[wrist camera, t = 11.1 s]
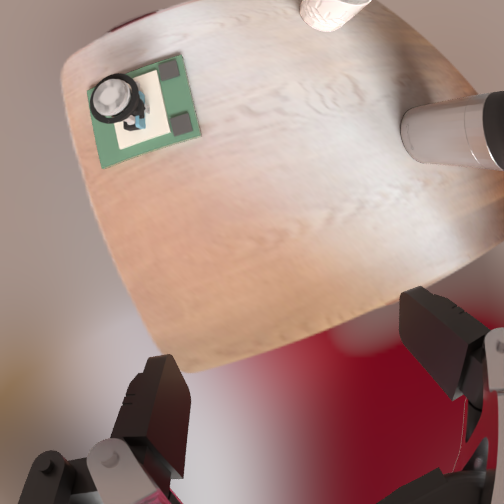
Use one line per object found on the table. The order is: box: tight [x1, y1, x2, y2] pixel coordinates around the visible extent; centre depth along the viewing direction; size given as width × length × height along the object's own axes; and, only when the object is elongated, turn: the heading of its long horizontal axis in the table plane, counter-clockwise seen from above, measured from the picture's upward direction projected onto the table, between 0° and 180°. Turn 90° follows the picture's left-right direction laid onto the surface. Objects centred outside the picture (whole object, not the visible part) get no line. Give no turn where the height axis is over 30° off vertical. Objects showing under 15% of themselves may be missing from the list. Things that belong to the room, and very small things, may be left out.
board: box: [87, 55, 202, 169], centre depth 32 cm, size 14×12×2 cm
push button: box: [90, 74, 150, 131], centre depth 26 cm, size 7×5×10 cm
